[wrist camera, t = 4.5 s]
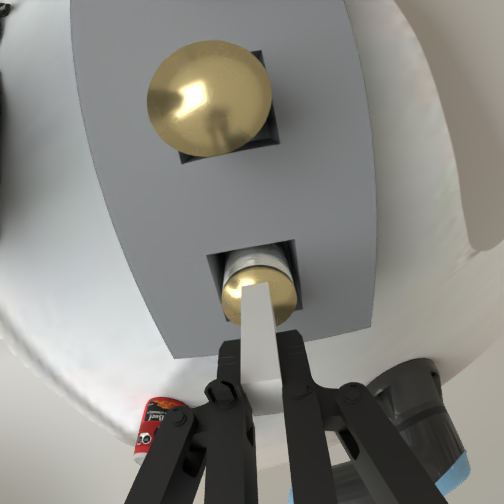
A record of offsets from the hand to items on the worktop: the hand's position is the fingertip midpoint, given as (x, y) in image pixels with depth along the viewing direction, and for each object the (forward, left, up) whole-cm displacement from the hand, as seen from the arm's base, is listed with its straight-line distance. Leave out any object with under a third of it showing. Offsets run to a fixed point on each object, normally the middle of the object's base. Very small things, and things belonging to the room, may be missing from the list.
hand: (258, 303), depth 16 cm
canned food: (+19, +27, -10) cm, 35 cm away
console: (0, -11, -10) cm, 15 cm away
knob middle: (0, -11, -5) cm, 12 cm away
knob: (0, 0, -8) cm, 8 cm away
